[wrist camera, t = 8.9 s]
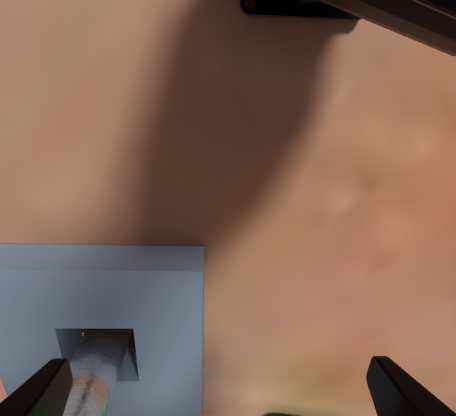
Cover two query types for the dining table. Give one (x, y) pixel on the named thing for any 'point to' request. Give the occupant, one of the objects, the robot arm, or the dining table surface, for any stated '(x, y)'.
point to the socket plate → (108, 317)
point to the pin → (96, 370)
